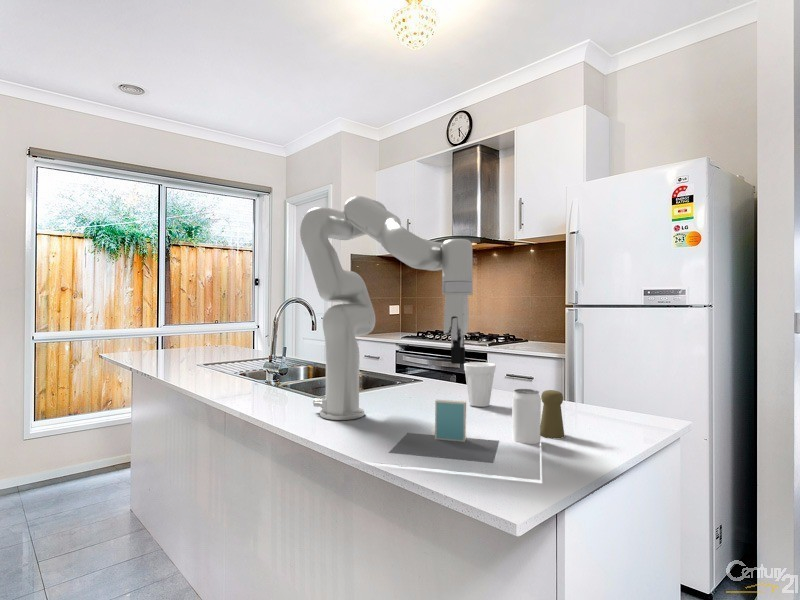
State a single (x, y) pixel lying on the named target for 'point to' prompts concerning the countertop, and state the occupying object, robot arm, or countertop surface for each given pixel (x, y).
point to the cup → (479, 382)
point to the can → (526, 416)
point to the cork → (552, 415)
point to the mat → (447, 448)
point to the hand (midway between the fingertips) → (458, 363)
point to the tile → (450, 420)
